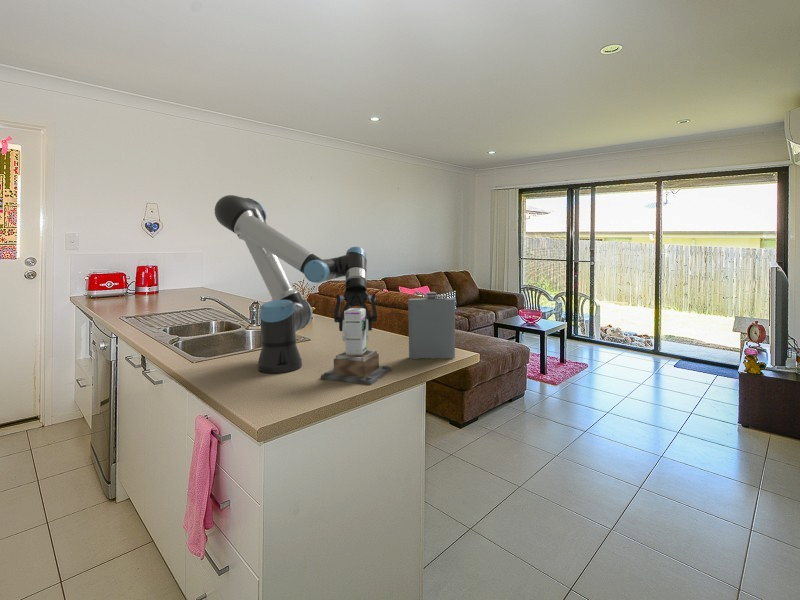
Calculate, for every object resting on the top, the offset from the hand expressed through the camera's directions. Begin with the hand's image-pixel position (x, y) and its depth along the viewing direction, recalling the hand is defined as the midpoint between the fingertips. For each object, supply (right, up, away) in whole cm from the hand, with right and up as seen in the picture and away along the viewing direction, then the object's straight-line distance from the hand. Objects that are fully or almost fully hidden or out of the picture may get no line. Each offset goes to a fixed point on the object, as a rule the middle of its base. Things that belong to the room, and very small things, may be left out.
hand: (355, 338), depth 136 cm
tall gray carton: (+26, -10, +26) cm, 38 cm away
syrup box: (0, -5, +4) cm, 7 cm away
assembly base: (0, -12, +5) cm, 13 cm away
